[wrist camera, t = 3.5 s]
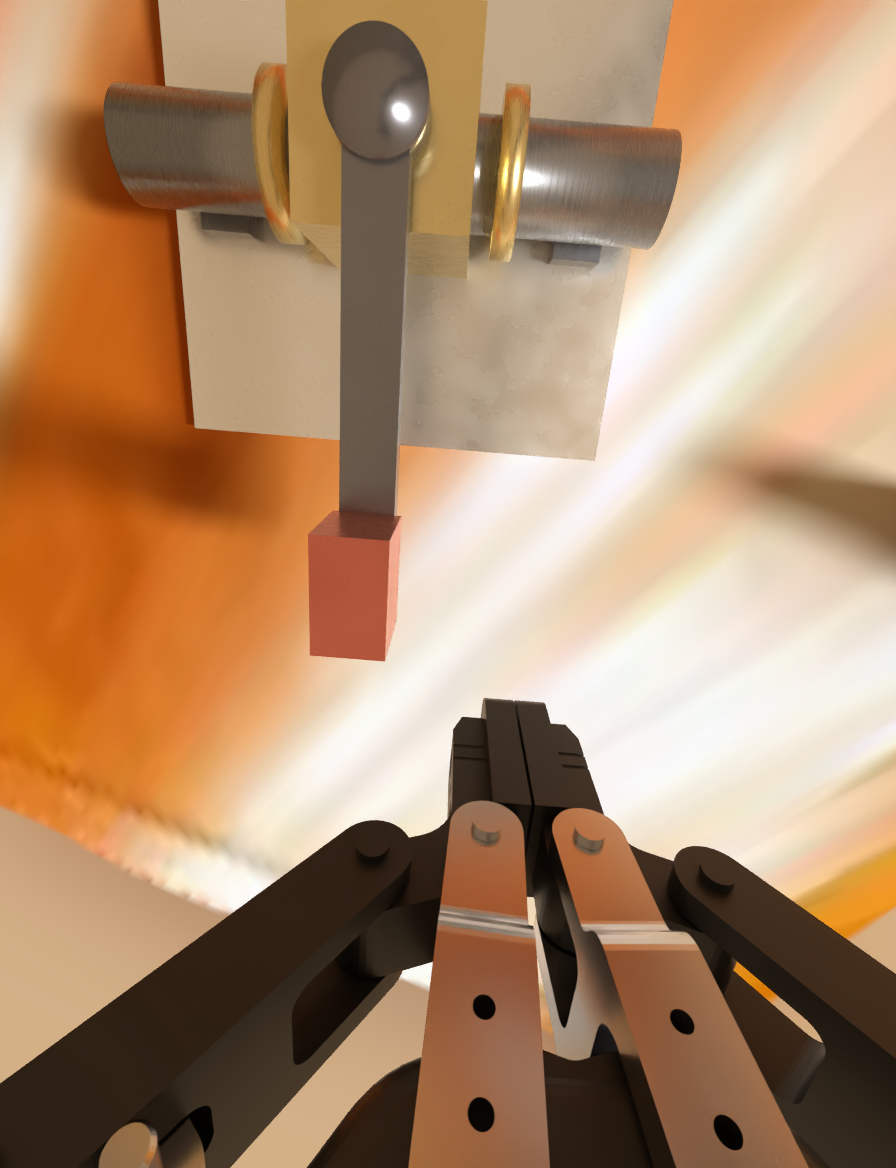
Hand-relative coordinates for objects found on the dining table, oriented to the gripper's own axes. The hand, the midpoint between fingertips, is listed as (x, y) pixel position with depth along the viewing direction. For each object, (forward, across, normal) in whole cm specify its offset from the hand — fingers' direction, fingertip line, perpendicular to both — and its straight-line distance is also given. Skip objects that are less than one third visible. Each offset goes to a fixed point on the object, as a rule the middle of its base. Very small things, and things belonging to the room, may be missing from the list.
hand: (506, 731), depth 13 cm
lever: (+13, +5, -8) cm, 16 cm away
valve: (+23, +5, -17) cm, 29 cm away
